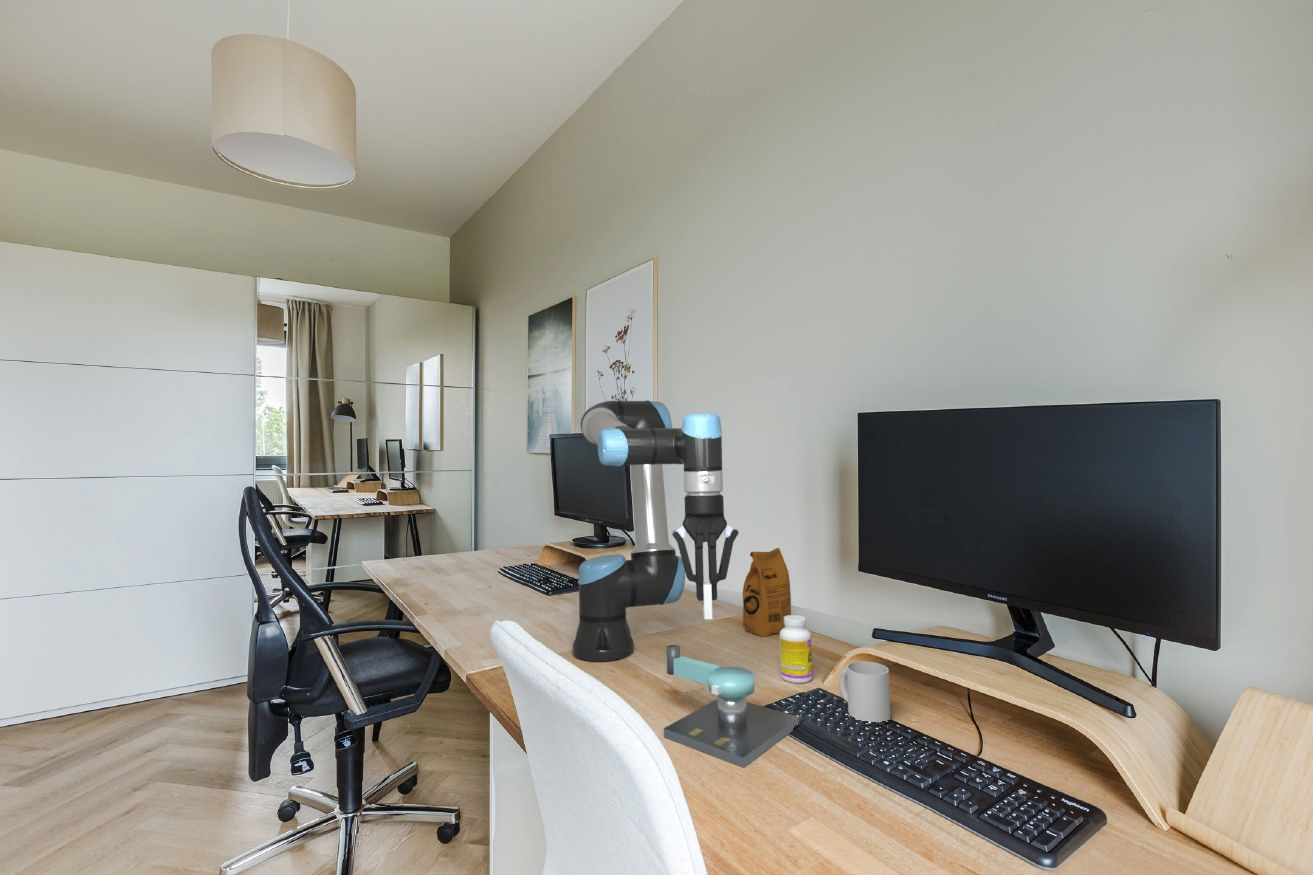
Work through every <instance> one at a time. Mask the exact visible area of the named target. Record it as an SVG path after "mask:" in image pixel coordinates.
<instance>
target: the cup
mask: <svg viewBox="0 0 1313 875" xmlns="http://www.w3.org/2000/svg"><path fill="white" fill-rule="evenodd" d="M889 672H890V670H889V668H888V667H887V666H886V665H884V664H882V663H878V662H873V661H865V660H860V661H853V662H849V663H847V664H846V666H844V667H843V668H842V669H841V671H840V673H839V677H838V687H839V692H840V694H841V697H842V698H843V700H844V701H845V702H846V703H847V712H849V714H850V715H851V716H852V717H854V718H856V719H857V720H861V721H868V722H879V723H880V722H882V721H886V720H891V698H890V696H891V695H890V694H891V693H890V673H889ZM849 714H848V715H849Z"/></svg>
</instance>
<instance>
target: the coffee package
mask: <svg viewBox="0 0 1313 875" xmlns="http://www.w3.org/2000/svg"><path fill="white" fill-rule="evenodd" d="M749 555H750V557H751V558H752V562H751V564H750V568H749V571H748V572H747V575H746V576H745V580H744V582H743V587H742V607H743V608H742V609H743V610H742V613H743V614H742V618H743V619H742V622H743V623H742V625H743V627H744V631H745V632H749V633H751V634H753V635H756V636H758V637H763V638H765V637H768V636H771V635H774V634H776V635H780V631H781V630H782V629H783V628H785V625H784V617H785V616H788V615H792V595H791V594H792V593H791V583H790V582H791V581H790V575H789V574H790V573H789V570H788V567H787V563H786V562H785V560H784V556H783V554H782V551H781V549H780V547H776V548H774V549H772V550H771V551H750V554H749Z"/></svg>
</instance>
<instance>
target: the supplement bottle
mask: <svg viewBox="0 0 1313 875" xmlns="http://www.w3.org/2000/svg"><path fill="white" fill-rule="evenodd" d="M784 625H785V628H783V629H782V630H781V631H780V634H779V657H780V659H779V662H780V663H779V664H780V677H781V679H782V680H784V681H786V682H789V683H793V684H805V683H808V682H810V681H812V679H813V655H812V653H813V652H812V634H811V632H810V631H809V630H808V629H807V628H806V625H807V619H806V617H805V616H803V615H802V616H801V615H796V614H791V615H788V616H785V617H784Z"/></svg>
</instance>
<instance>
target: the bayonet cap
mask: <svg viewBox="0 0 1313 875" xmlns="http://www.w3.org/2000/svg"><path fill="white" fill-rule="evenodd" d="M665 649H666V656H665V668H666V671H665V672H666V673H667V674H668V675H670V676H676V677H680V678H684V679H687V680H691V681H694V682H697V683H701V684H704V685H707V687H708V691H709V692H710V694H712V695H714V696H720V697H724V698H742V697H746V698H747V697H748V696H751V695H753V694H754V693H755V689H756V688H755V674H754V672H753V671H751V670H750V669H747V668H743V667H738V666H722V667H721V666H720V665H717V664H714V663H709V662H706V661H702V660H697V659H695V658H691V657H686V656H682V655H681V646H679V645H677V644H672V645H667V646H666V648H665Z"/></svg>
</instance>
